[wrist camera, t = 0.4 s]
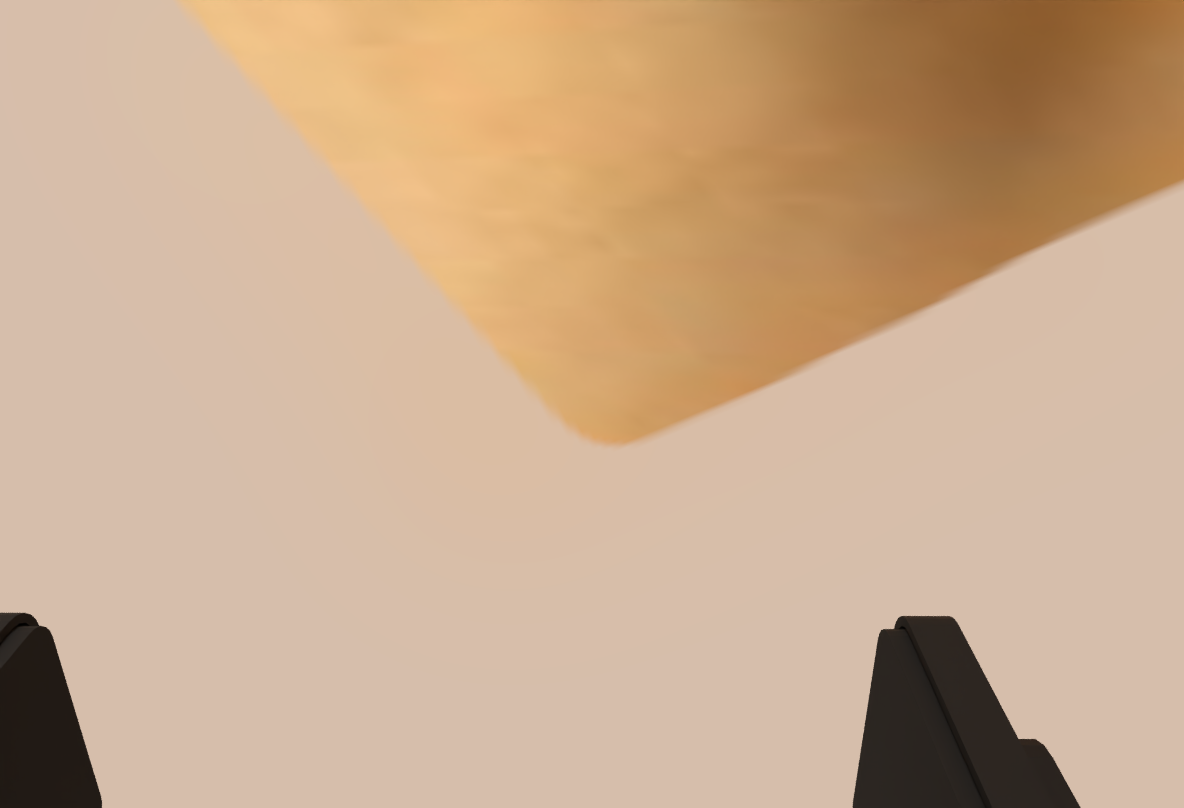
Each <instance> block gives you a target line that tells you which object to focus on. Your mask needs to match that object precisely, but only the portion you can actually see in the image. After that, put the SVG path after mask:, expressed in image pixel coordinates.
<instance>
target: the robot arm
mask: <svg viewBox="0 0 1184 808" xmlns="http://www.w3.org/2000/svg"><path fill="white" fill-rule="evenodd" d="M0 808H102V800H101V795H100V792H99V789H98V785H97V782H96V778H95V775H94V772H93V769H92V765H91V762H90V759H89V755H88V752H87V749H86V745H85V742H84V739H83V736H82V732H81V729H80V726H79V722H78V719H77V716H76V712H75V709H74V706H73V702H72V699H71V696H70V693H69V689H68V686H67V683H66V679H65V676H64V673H63V669H62V666H61V663H60V660H59V656H58V653H57V649H56V646H55V643H54V639H53V636H52V634H51V632H50V631H49V630H48V629H47V628H46V627H43V626H39V625H38V623H37V620H36V619H35V618H34V617H33V616H32V615H30V614H26V613H0ZM853 808H1080V806H1079V804H1078V802H1077V801H1076V799H1075V797H1074V795H1073V793H1072V792H1071V790H1070V788H1069V786H1068V785H1067V783H1066V781H1065V779H1064V777H1063V775H1062V774H1061V772H1060V770H1059V768H1058V767H1057V765H1056V763H1055V761H1054V759H1053V757H1052V756H1051V755H1050V753H1049V752H1048V750H1047V749H1046V748H1045V746H1044V745H1043V744H1041V743H1040V742H1039V741H1037V740H1036V739H1018V738H1017V735H1016V734H1015V732H1014V730H1013V728H1012V726H1011V724H1010V722H1009V720H1008V718H1007V716H1006V715H1005V713H1004V711H1003V709H1002V707H1001V705H1000V703H999V701H998V699H997V697H996V695H995V693H994V692H993V690H992V688H991V686H990V684H989V682H988V680H987V678H986V677H985V675H984V673H983V671H982V669H981V667H980V665H979V663H978V661H977V659H976V658H975V656H974V654H973V652H972V650H971V648H970V646H969V644H968V642H967V640H966V639H965V636H964V635H963V633H962V631H961V629H960V627H959V625H958V623H957V622H956V621H955V619H954V618H952V617H950V616H901V617H899V618H898V620H897V621H896V624H895V628H894V629H883V630H881V632H880V634H879V637H878V643H877V649H876V656H875V662H874V669H873V676H872V682H871V688H870V695H869V702H868V708H867V715H866V721H865V727H864V734H863V740H862V747H861V753H860V760H859V767H858V773H857V780H856V786H855V793H854V799H853Z"/></svg>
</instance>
